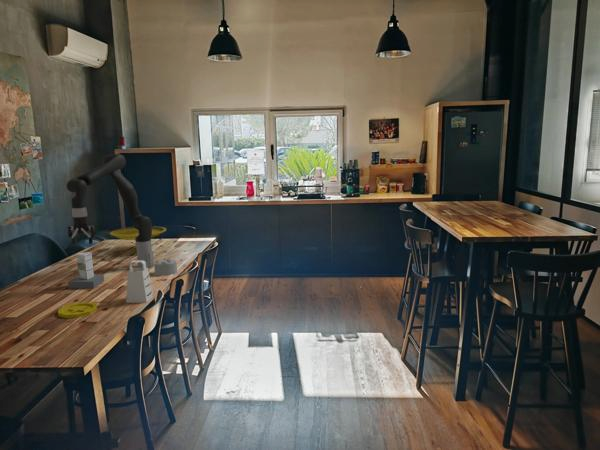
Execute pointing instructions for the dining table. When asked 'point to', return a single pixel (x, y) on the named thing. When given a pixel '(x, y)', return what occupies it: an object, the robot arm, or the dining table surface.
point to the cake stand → (135, 234)
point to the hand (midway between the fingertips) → (82, 244)
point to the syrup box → (85, 265)
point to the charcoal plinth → (86, 282)
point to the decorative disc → (77, 310)
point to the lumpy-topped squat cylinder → (165, 267)
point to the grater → (138, 284)
